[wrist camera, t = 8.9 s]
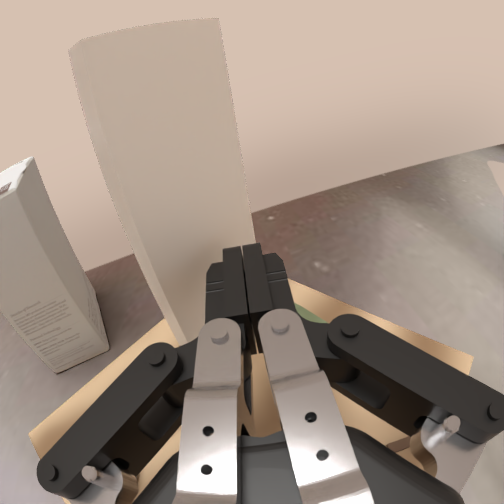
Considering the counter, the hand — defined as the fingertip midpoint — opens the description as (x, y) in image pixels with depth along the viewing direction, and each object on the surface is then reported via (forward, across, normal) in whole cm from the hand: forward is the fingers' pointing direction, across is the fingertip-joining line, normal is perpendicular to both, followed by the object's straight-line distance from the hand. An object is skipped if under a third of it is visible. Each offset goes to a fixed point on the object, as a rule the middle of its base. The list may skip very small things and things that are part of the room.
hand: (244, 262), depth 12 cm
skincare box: (+6, +16, +10) cm, 19 cm away
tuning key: (-3, +5, +8) cm, 10 cm away
